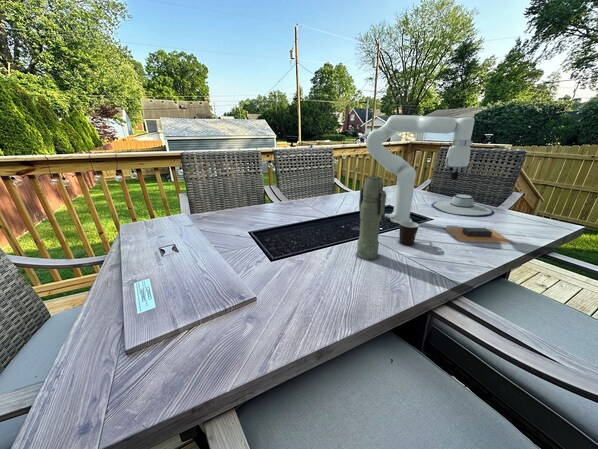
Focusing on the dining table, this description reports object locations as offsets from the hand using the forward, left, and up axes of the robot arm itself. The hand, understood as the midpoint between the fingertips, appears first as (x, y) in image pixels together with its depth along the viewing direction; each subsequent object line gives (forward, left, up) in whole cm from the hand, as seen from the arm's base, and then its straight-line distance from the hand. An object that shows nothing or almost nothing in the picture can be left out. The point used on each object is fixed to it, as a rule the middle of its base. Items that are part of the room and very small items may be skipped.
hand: (453, 179), depth 132 cm
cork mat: (+11, -12, -27) cm, 32 cm away
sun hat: (+26, +38, -27) cm, 54 cm away
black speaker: (+6, -12, -25) cm, 28 cm away
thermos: (-48, -40, -27) cm, 68 cm away
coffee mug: (-26, -24, -27) cm, 45 cm away
